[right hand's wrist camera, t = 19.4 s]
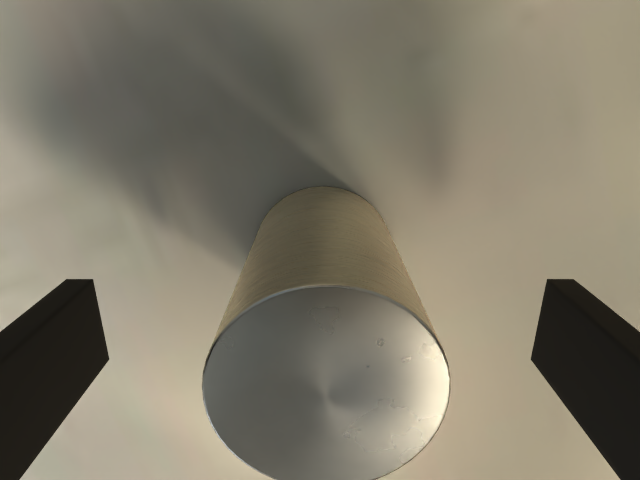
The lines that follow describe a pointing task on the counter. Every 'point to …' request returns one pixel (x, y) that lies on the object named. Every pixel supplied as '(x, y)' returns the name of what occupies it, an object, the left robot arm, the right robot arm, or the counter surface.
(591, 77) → the counter surface
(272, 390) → the can
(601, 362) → the right robot arm
